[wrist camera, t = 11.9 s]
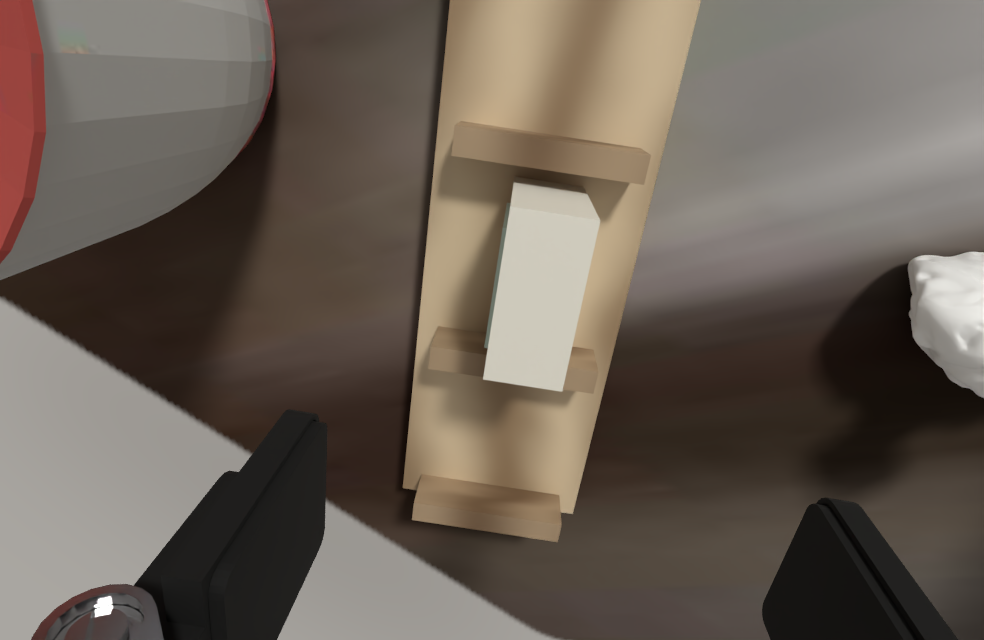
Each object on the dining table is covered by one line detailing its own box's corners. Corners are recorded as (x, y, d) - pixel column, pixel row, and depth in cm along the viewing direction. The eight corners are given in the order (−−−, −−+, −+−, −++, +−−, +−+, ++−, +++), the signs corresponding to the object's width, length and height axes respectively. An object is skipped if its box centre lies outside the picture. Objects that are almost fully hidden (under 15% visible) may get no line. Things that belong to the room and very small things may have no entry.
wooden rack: (711, -91, 23) (749, -125, 19) (570, 491, 35) (575, 544, 31) (469, -128, 23) (456, -170, 19) (409, 466, 35) (394, 517, 31)
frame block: (584, 187, 26) (600, 220, 20) (555, 326, 29) (562, 391, 23) (511, 175, 26) (505, 205, 20) (489, 316, 29) (479, 378, 23)
